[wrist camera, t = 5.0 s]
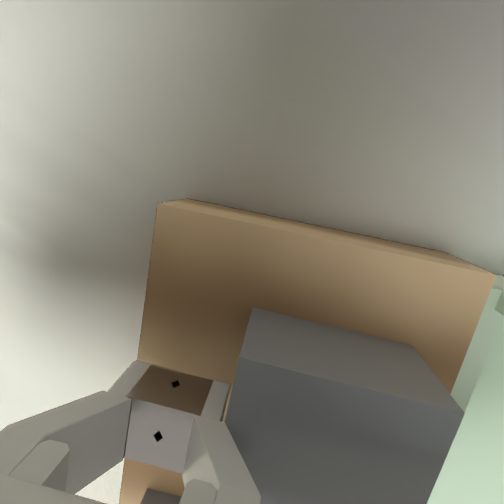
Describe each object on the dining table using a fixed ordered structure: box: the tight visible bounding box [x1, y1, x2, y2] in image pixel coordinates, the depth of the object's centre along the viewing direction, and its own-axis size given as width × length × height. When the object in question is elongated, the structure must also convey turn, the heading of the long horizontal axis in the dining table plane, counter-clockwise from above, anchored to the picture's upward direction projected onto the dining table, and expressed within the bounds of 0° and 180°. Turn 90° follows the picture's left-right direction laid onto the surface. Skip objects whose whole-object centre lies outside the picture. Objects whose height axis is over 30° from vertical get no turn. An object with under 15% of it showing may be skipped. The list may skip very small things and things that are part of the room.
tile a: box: [224, 307, 465, 504], centre depth 9 cm, size 5×5×3 cm
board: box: [119, 199, 496, 504], centre depth 13 cm, size 18×10×3 cm, turn 169°
